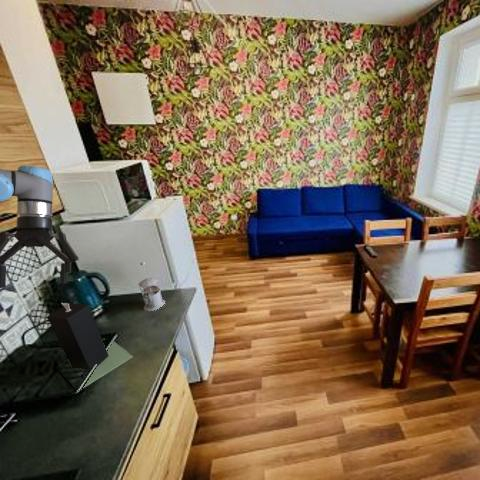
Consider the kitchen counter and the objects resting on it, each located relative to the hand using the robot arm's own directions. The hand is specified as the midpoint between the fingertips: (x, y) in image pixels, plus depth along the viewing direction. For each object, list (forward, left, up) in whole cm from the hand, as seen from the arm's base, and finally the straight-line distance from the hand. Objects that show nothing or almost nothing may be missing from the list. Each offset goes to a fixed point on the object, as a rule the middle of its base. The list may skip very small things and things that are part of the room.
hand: (33, 285), depth 82 cm
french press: (-20, +38, -39) cm, 58 cm away
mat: (-3, +6, -39) cm, 40 cm away
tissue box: (-3, +5, -39) cm, 40 cm away
